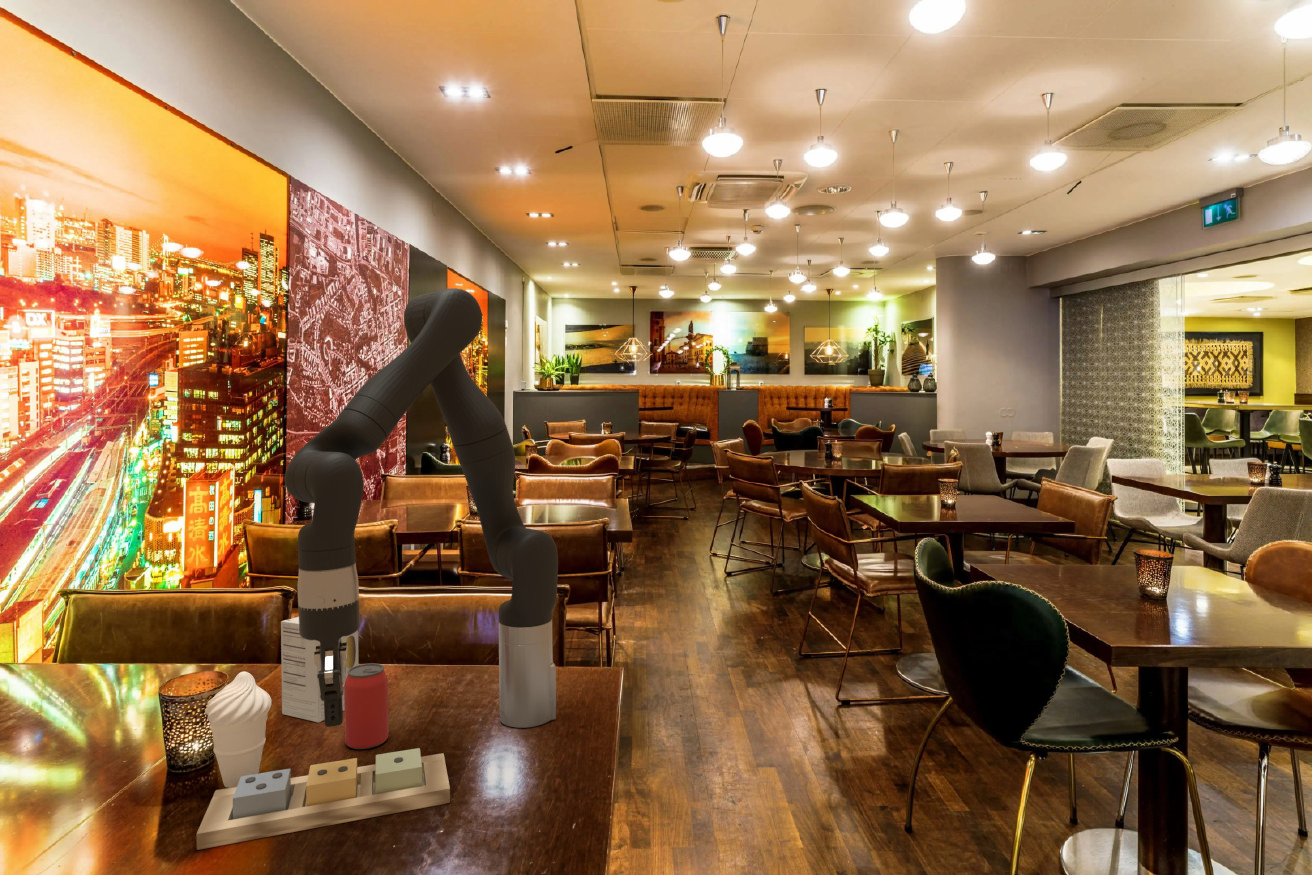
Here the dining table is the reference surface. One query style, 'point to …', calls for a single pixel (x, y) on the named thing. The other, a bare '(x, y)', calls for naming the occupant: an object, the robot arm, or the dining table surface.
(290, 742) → the dining table surface
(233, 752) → the soft serve ice cream cone
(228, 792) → the board
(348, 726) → the beer can
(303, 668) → the supplement box
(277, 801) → the tile three
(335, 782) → the tile two
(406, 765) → the tile one
